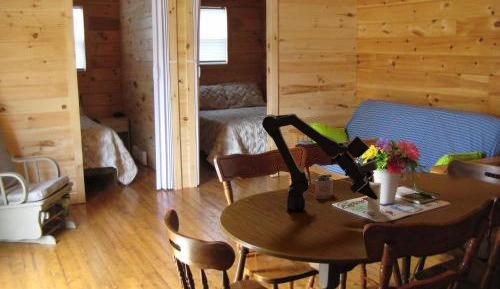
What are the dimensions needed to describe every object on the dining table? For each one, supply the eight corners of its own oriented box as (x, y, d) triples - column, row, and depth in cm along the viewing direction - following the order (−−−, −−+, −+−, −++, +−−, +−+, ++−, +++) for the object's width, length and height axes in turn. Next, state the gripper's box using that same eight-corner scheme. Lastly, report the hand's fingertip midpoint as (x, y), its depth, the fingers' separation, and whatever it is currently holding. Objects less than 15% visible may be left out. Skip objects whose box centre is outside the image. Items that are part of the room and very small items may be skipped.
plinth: (363, 216, 199) (364, 213, 199) (366, 211, 205) (366, 209, 205) (380, 217, 197) (380, 215, 197) (382, 213, 203) (382, 210, 203)
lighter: (316, 199, 222) (316, 175, 220) (313, 197, 225) (313, 173, 224) (334, 197, 224) (334, 174, 223) (330, 195, 228) (331, 172, 226)
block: (367, 213, 200) (368, 184, 198) (369, 210, 203) (370, 182, 202) (378, 214, 198) (379, 185, 196) (379, 211, 202) (380, 183, 200)
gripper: (360, 157, 190) (390, 190, 188) (369, 148, 207) (397, 178, 205) (337, 176, 194) (367, 209, 192) (348, 166, 211) (375, 196, 209)
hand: (377, 197), depth 199 cm, fingers closed on block, 4 cm apart
